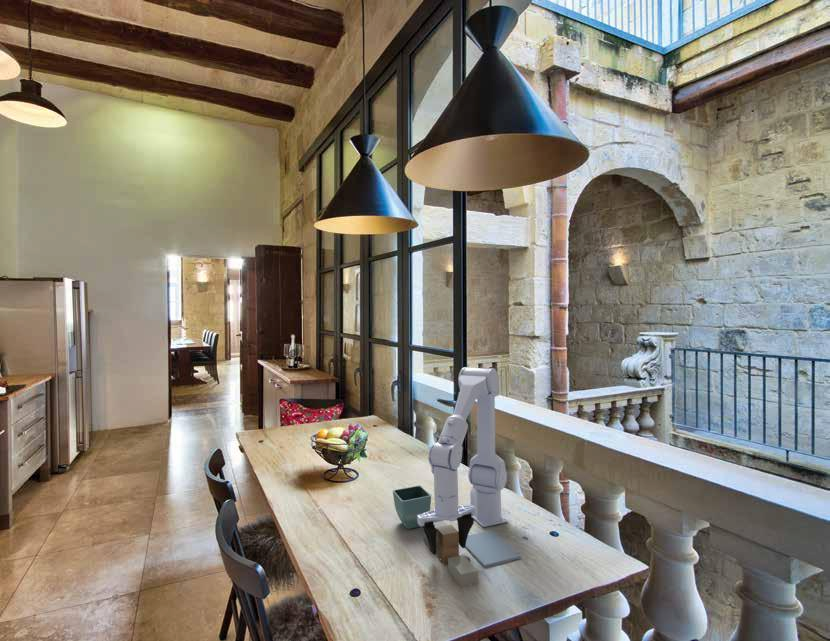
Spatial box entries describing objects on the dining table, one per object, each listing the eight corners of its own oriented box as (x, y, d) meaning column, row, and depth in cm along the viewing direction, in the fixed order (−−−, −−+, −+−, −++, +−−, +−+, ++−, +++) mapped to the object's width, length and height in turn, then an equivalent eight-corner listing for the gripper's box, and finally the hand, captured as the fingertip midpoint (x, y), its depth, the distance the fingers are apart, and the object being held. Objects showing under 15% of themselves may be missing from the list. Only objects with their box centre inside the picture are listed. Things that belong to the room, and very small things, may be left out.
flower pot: (392, 520, 129) (391, 489, 129) (421, 515, 132) (420, 484, 132) (402, 534, 120) (401, 501, 120) (432, 528, 123) (431, 495, 123)
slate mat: (458, 539, 117) (458, 537, 117) (491, 532, 120) (491, 530, 120) (484, 567, 103) (484, 565, 103) (521, 558, 107) (521, 555, 107)
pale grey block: (448, 571, 103) (448, 558, 103) (464, 567, 104) (463, 554, 104) (461, 588, 96) (461, 574, 96) (478, 584, 98) (477, 570, 98)
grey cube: (423, 541, 116) (423, 522, 116) (441, 537, 118) (440, 518, 118) (430, 550, 112) (430, 530, 112) (449, 546, 114) (448, 527, 113)
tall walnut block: (437, 555, 109) (436, 527, 109) (452, 552, 111) (451, 524, 110) (443, 564, 105) (443, 535, 105) (459, 560, 107) (458, 531, 107)
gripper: (424, 504, 102) (425, 564, 102) (480, 494, 106) (482, 551, 107) (413, 493, 108) (415, 549, 108) (467, 484, 113) (469, 537, 113)
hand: (447, 549), depth 108 cm, fingers open, 7 cm apart
